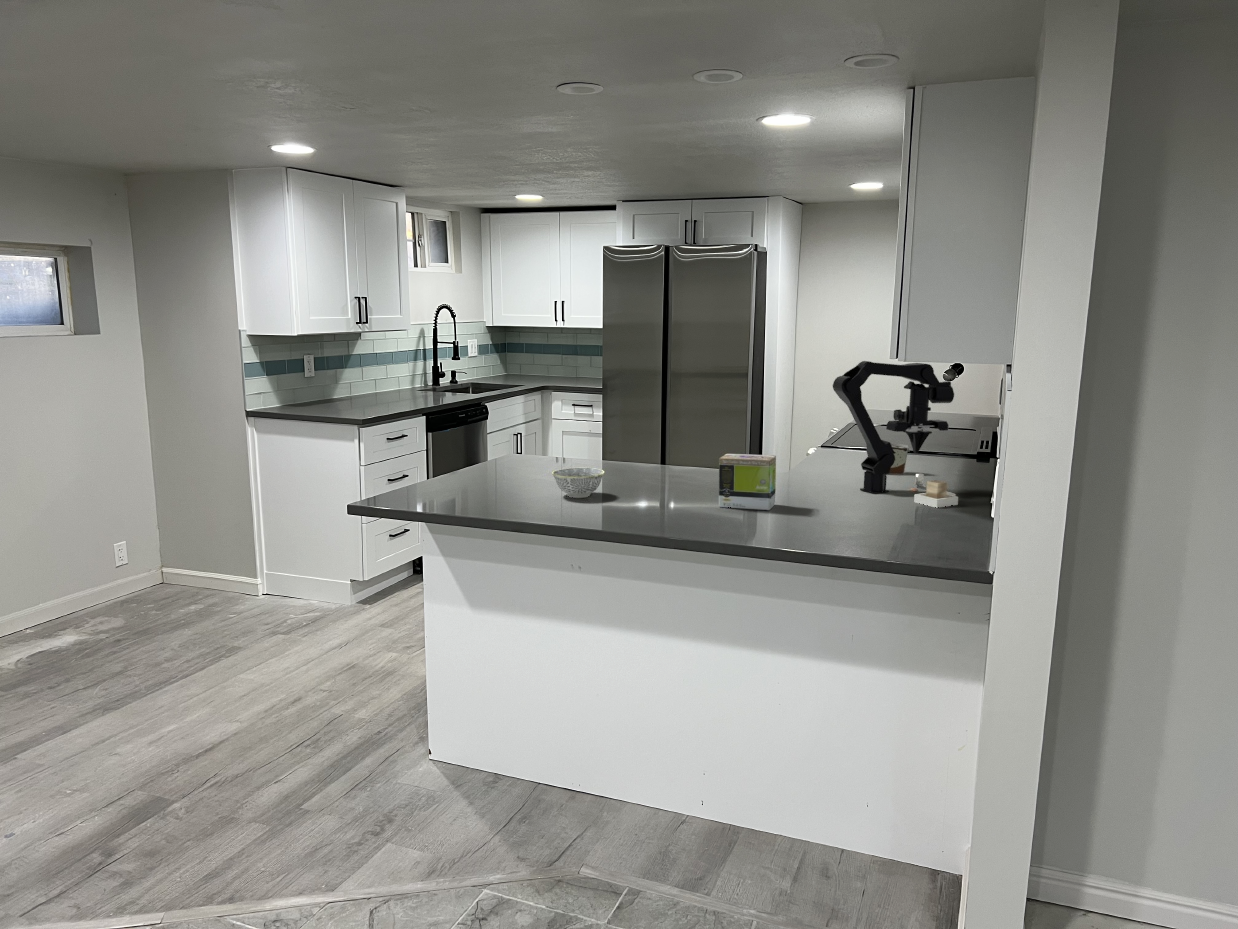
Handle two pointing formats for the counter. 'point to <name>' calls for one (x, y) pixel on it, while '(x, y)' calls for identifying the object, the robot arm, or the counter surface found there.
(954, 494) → the crank base
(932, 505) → the tray
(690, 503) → the counter surface
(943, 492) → the block
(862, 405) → the robot arm
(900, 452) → the food container
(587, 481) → the bowl
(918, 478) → the crank
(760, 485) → the tea box
